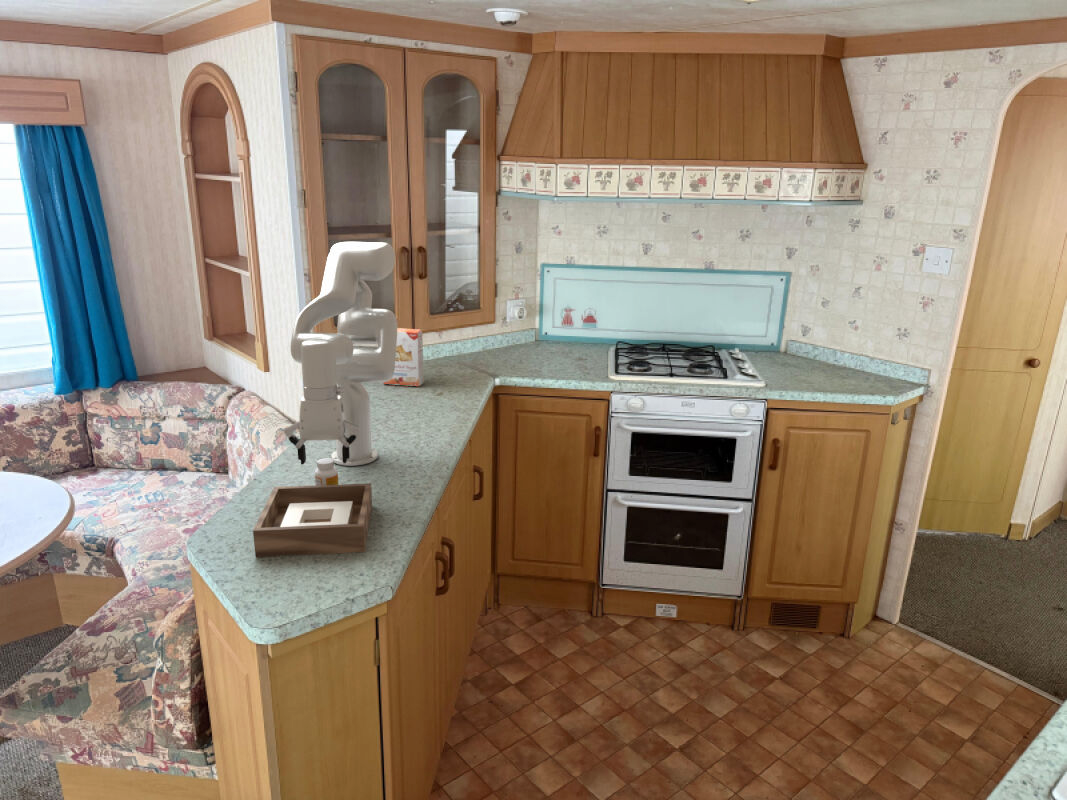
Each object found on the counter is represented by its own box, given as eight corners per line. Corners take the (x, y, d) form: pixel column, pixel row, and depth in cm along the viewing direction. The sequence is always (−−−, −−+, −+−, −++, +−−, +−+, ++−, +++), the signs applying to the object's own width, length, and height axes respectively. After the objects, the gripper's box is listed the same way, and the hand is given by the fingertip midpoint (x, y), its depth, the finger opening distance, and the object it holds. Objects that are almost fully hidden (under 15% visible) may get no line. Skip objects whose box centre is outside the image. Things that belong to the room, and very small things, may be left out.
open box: (276, 510, 174) (274, 486, 172) (372, 506, 177) (371, 483, 175) (255, 557, 153) (252, 530, 151) (364, 551, 156) (363, 526, 154)
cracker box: (382, 385, 275) (380, 329, 269) (388, 381, 281) (386, 326, 274) (419, 388, 273) (417, 332, 267) (424, 383, 279) (422, 328, 272)
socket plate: (290, 513, 170) (289, 503, 170) (353, 510, 172) (352, 501, 172) (279, 542, 157) (278, 531, 156) (346, 539, 159) (346, 528, 158)
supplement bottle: (341, 493, 184) (339, 456, 181) (336, 502, 179) (334, 465, 176) (319, 493, 184) (316, 456, 181) (313, 502, 178) (311, 465, 176)
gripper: (359, 387, 178) (362, 455, 182) (284, 389, 175) (289, 457, 180) (357, 396, 171) (360, 466, 175) (278, 397, 168) (283, 468, 173)
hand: (324, 461), depth 177 cm, fingers open, 9 cm apart
